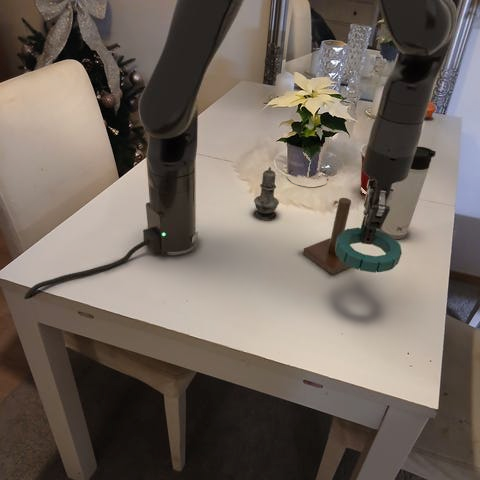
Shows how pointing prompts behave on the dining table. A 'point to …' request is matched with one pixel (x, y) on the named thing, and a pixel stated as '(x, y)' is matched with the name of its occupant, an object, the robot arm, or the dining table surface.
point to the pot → (430, 109)
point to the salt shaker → (266, 197)
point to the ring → (368, 261)
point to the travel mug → (407, 195)
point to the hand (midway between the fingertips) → (365, 238)
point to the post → (331, 242)
